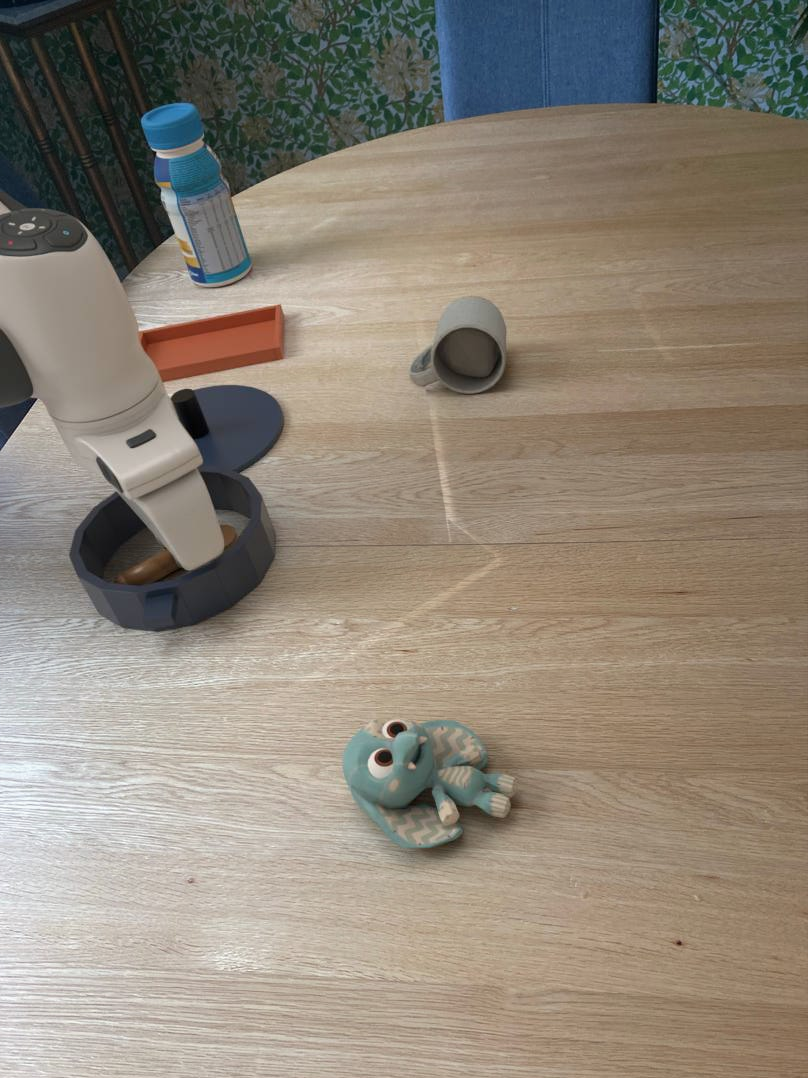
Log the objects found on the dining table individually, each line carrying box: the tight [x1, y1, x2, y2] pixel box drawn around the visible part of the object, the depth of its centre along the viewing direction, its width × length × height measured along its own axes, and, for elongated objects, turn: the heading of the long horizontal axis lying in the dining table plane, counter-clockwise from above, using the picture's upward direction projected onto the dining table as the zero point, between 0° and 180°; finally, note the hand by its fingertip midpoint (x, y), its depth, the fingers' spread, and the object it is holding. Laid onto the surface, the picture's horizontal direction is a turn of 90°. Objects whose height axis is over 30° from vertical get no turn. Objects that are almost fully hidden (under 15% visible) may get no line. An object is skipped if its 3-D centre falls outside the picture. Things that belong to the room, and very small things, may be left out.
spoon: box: [113, 524, 239, 586], centre depth 90 cm, size 12×4×2 cm, turn 127°
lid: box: [170, 384, 285, 474], centre depth 103 cm, size 18×18×6 cm
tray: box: [139, 303, 285, 383], centre depth 117 cm, size 17×10×2 cm, turn 97°
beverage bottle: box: [140, 102, 253, 288], centre depth 126 cm, size 8×8×20 cm
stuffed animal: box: [341, 716, 518, 850], centre depth 68 cm, size 11×7×12 cm
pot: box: [68, 466, 277, 632], centre depth 90 cm, size 17×22×5 cm
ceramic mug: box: [408, 295, 507, 395], centre depth 105 cm, size 11×8×8 cm
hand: (178, 552), depth 90 cm, fingers closed on spoon, 2 cm apart
